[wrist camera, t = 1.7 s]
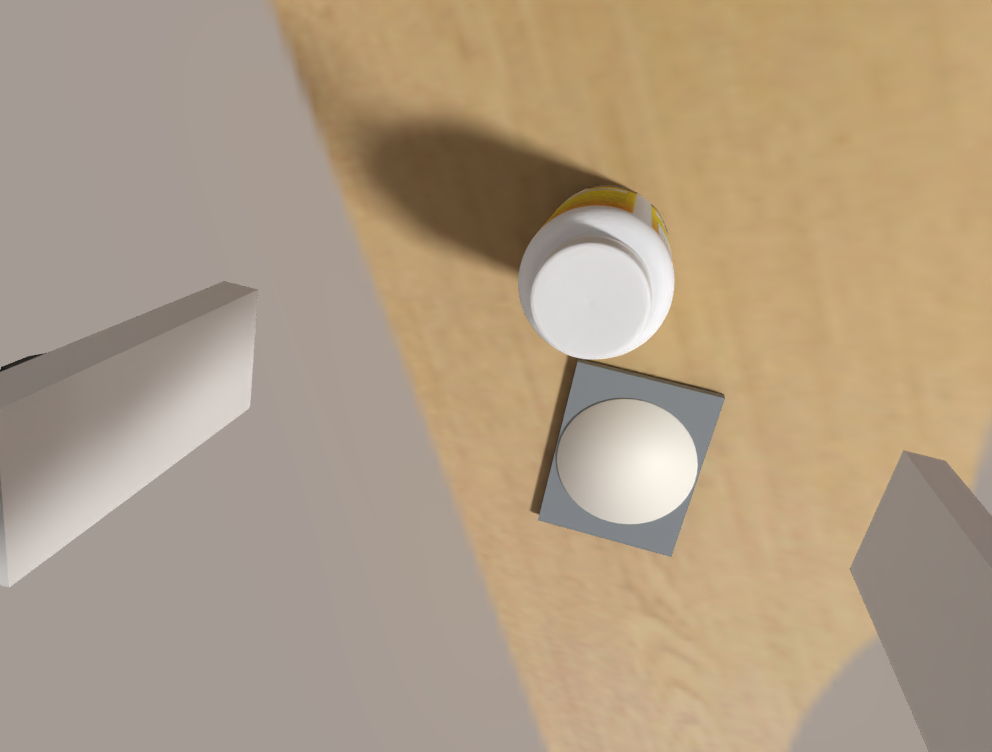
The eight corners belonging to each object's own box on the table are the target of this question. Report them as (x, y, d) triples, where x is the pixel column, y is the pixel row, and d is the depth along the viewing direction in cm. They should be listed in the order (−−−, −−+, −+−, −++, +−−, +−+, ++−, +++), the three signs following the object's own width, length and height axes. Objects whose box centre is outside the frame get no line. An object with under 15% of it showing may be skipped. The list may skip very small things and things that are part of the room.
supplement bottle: (520, 251, 34) (470, 306, 25) (602, 156, 32) (582, 177, 22) (609, 330, 34) (593, 414, 25) (696, 242, 32) (714, 298, 23)
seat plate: (578, 358, 35) (577, 362, 35) (723, 394, 34) (724, 399, 34) (539, 515, 38) (537, 521, 38) (670, 551, 38) (670, 557, 37)
